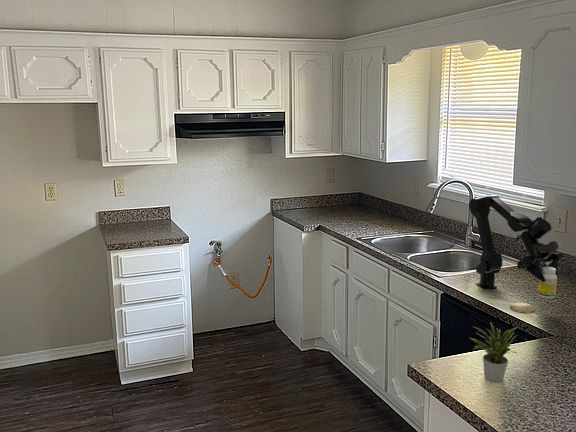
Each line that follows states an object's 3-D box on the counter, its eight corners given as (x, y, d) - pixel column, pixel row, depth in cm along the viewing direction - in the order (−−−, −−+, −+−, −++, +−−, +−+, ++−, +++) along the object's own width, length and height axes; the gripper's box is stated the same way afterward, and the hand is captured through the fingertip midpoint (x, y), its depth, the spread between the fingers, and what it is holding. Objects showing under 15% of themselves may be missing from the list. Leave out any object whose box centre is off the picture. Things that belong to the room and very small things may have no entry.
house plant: (491, 361, 184) (495, 312, 181) (530, 379, 173) (535, 327, 169) (460, 373, 176) (464, 322, 173) (498, 392, 165) (503, 338, 162)
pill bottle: (540, 291, 229) (543, 264, 226) (557, 295, 225) (560, 268, 223) (535, 296, 224) (538, 268, 222) (552, 300, 220) (555, 271, 218)
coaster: (505, 305, 233) (505, 303, 233) (525, 303, 235) (525, 301, 235) (518, 313, 224) (518, 311, 224) (539, 311, 226) (539, 309, 226)
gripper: (525, 236, 220) (545, 273, 212) (563, 232, 226) (583, 268, 219) (508, 251, 228) (526, 287, 221) (545, 246, 235) (564, 281, 228)
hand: (550, 280), depth 222 cm, fingers closed on pill bottle, 6 cm apart
